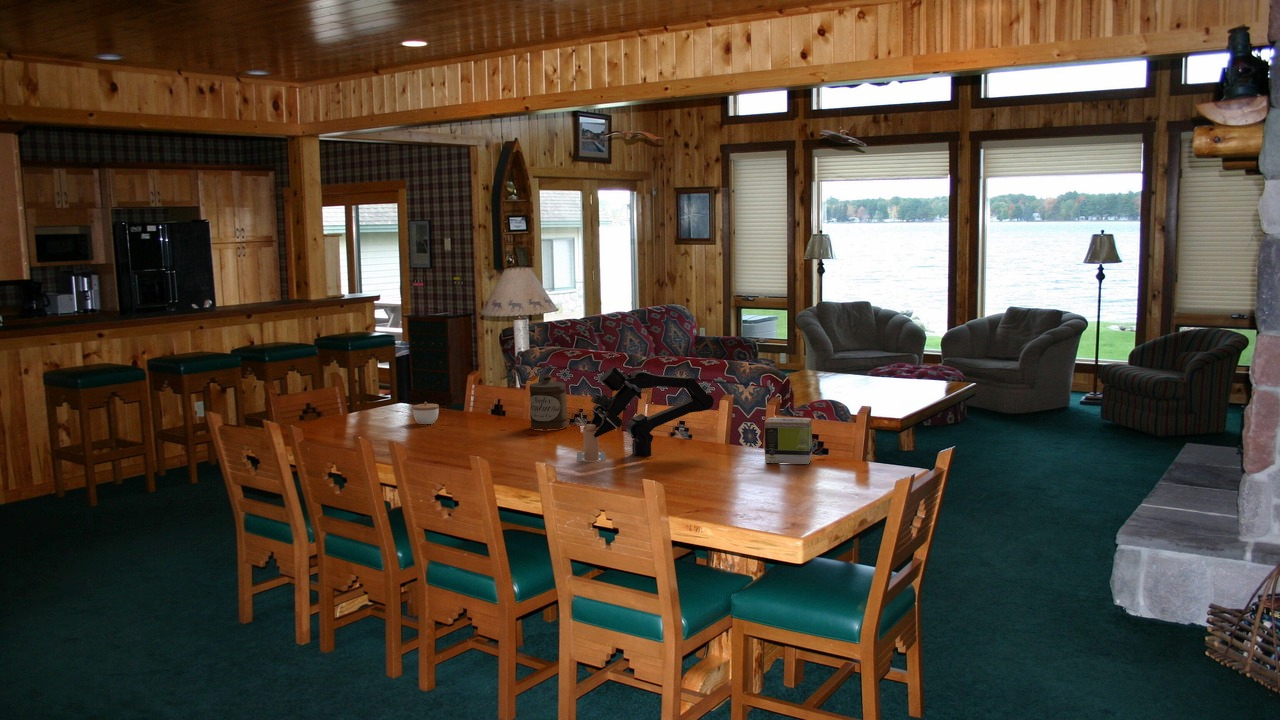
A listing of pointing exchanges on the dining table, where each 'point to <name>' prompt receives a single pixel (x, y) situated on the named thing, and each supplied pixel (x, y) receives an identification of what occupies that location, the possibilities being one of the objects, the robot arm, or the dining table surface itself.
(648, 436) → the robot arm
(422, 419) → the lidded jar
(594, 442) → the light brown tall cylinder
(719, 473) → the dining table surface
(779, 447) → the tea box
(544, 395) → the labelled canister
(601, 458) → the slate board
